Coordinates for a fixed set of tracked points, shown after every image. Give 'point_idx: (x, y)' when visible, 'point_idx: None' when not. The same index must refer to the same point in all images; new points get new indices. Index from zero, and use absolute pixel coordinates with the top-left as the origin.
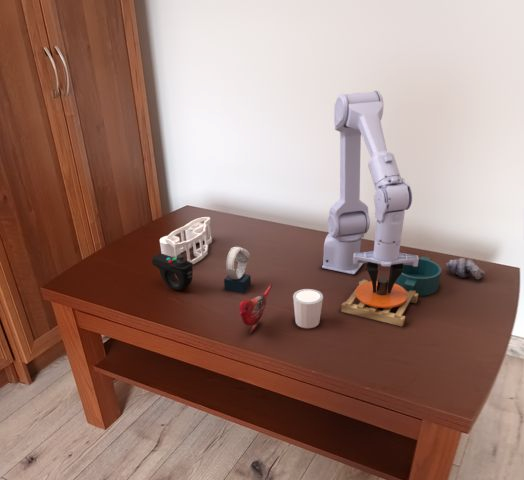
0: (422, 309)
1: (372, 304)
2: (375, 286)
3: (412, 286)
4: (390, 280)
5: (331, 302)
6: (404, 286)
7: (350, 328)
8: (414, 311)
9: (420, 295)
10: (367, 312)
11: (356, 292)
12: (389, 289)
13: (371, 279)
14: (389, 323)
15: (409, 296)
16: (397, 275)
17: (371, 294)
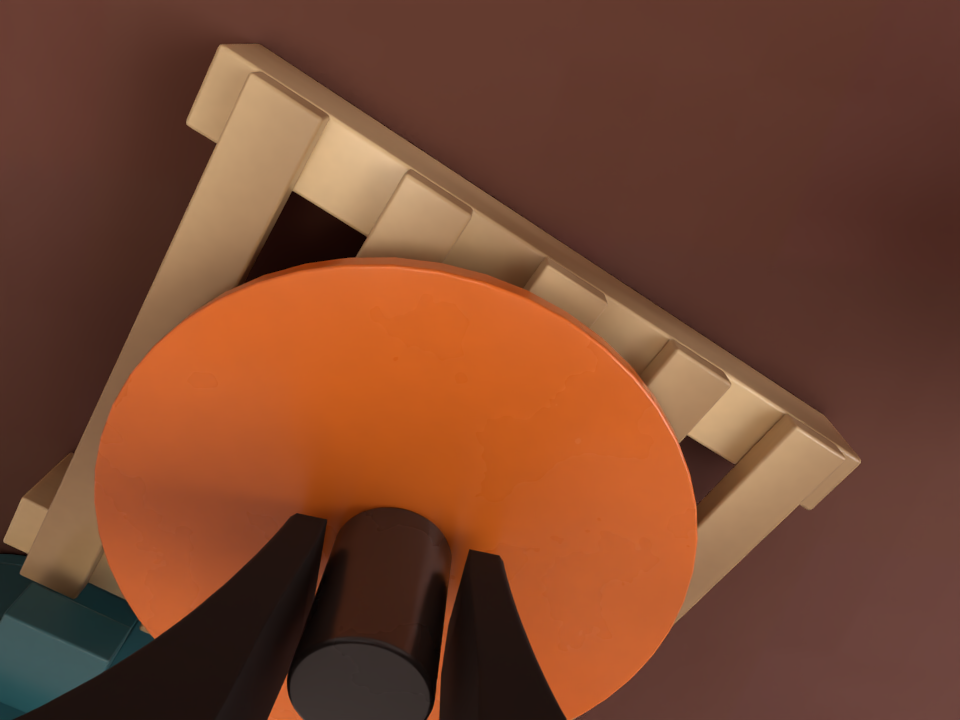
0: (12, 350)
1: (574, 334)
2: (483, 609)
3: (22, 611)
4: (252, 653)
5: (846, 567)
6: (116, 632)
7: (863, 87)
8: (93, 327)
9: (18, 556)
10: (615, 294)
11: (677, 598)
12: (297, 545)
13: (562, 714)
14: (390, 131)
15: (89, 486)
16: (84, 711)
17: (518, 540)
